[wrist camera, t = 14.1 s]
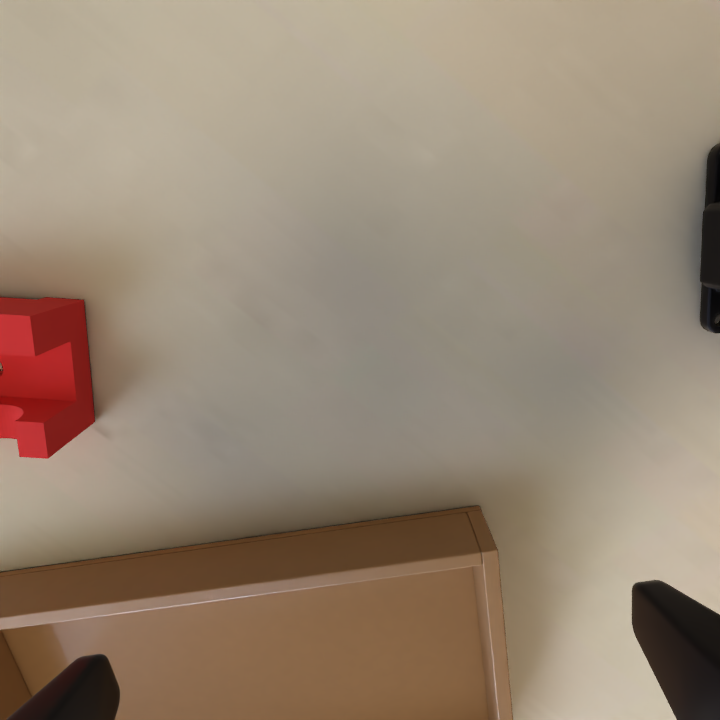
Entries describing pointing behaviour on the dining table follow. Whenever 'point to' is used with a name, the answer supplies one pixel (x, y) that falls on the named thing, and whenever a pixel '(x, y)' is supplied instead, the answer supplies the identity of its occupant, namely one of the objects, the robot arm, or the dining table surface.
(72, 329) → the bracket
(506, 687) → the cardboard box
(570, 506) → the dining table surface
